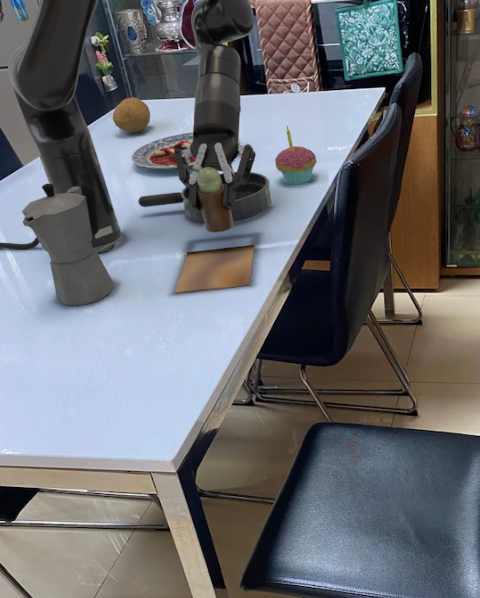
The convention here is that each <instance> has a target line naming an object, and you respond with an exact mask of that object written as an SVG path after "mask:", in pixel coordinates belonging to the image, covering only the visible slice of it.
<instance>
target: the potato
mask: <svg viewBox="0 0 480 598" xmlns="http://www.w3.org/2000/svg"><path fill="white" fill-rule="evenodd" d="M112 120H113V123H114V125H115V126H116V127H117V128H118V129H120V130H121V131H123V132H126V133H131V134H132V133H139V132H142V131H144V130H145V128H146V127H147V126H148V124H149V123H150V121H151V111H150V109H149V106H148V105H147V104H146V102H144V101H143V100H141V99H140V98H137V97H126V98H125V99H123V100H121V102H119V104H117V106H116V107H115V108H114V111H113V112H112Z"/></svg>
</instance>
